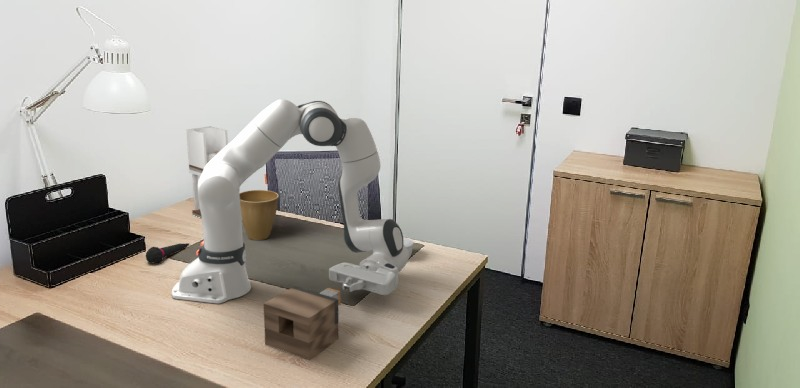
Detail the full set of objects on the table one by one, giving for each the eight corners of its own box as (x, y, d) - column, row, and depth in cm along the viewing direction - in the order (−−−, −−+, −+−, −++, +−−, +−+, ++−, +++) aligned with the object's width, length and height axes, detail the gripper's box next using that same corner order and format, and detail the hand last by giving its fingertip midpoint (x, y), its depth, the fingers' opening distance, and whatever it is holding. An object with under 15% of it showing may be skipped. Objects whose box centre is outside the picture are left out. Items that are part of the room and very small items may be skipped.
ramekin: (412, 250, 220) (413, 236, 218) (414, 262, 209) (414, 248, 207) (381, 249, 219) (381, 235, 218) (381, 262, 208) (381, 247, 207)
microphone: (184, 253, 219) (144, 267, 201) (180, 237, 219) (140, 250, 200) (196, 250, 218) (157, 264, 199) (192, 234, 217) (153, 247, 199)
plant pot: (233, 243, 221) (230, 200, 217) (245, 229, 235) (243, 188, 231) (274, 245, 221) (272, 202, 216) (283, 230, 235) (282, 190, 230)
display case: (192, 215, 249) (186, 129, 239) (215, 209, 257) (210, 126, 247) (208, 221, 242) (203, 133, 232) (231, 215, 250) (227, 130, 240)
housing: (309, 360, 149) (308, 318, 146) (265, 344, 156) (263, 303, 152) (338, 339, 159) (338, 299, 156) (295, 324, 166) (294, 286, 162)
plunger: (308, 326, 155) (307, 311, 154) (295, 321, 157) (295, 307, 156) (340, 304, 167) (340, 291, 165) (328, 301, 168) (328, 287, 167)
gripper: (344, 254, 187) (316, 269, 176) (403, 269, 178) (377, 286, 166) (344, 273, 189) (316, 289, 178) (402, 289, 180) (377, 307, 168)
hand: (346, 288), depth 172 cm, fingers closed
